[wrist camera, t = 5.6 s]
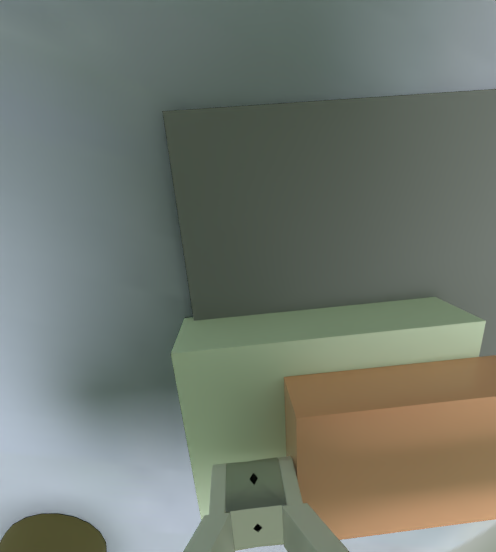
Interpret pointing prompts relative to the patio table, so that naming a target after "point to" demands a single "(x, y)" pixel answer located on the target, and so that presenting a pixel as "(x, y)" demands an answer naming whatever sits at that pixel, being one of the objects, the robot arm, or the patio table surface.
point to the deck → (294, 367)
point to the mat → (338, 203)
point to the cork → (52, 535)
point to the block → (395, 445)
